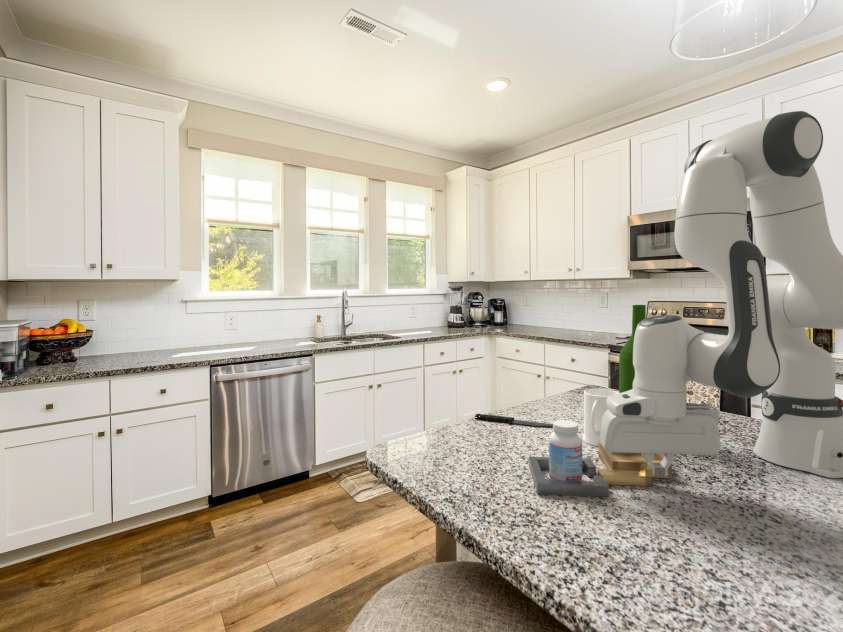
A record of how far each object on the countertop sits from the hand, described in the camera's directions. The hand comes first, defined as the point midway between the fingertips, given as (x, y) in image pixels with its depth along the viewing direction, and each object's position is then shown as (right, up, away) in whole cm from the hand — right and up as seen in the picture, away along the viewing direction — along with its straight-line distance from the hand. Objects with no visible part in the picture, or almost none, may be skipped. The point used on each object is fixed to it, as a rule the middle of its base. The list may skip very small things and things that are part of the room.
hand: (657, 474), depth 80 cm
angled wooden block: (-6, -2, +1) cm, 6 cm away
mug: (-2, -1, +22) cm, 22 cm away
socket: (-17, -2, +2) cm, 17 cm away
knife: (-17, 0, +38) cm, 42 cm away
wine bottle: (+11, 0, +29) cm, 31 cm away
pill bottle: (-17, -2, +2) cm, 17 cm away
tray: (-1, -1, +8) cm, 8 cm away
